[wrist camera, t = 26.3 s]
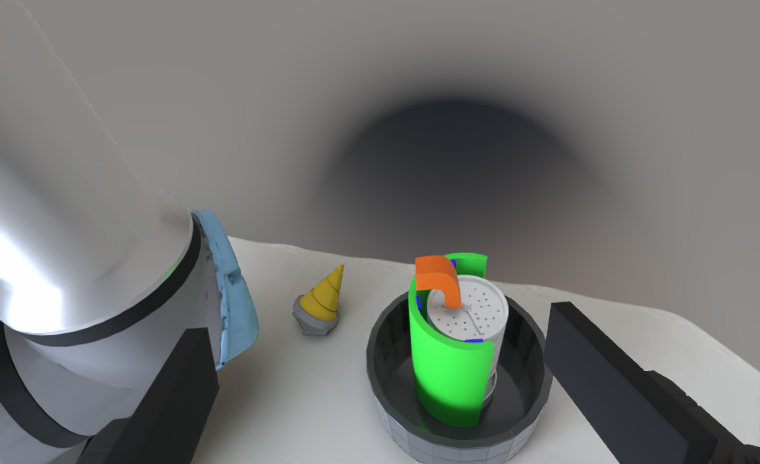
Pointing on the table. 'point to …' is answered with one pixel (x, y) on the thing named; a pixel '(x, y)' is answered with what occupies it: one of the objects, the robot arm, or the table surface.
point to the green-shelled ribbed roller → (455, 336)
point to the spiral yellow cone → (320, 305)
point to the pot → (497, 420)
